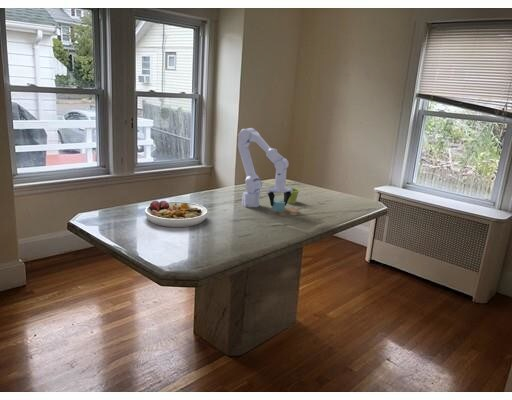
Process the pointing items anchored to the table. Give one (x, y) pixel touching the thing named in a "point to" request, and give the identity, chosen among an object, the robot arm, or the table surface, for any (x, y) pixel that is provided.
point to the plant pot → (293, 196)
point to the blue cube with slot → (278, 206)
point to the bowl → (175, 213)
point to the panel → (287, 211)
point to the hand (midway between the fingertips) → (278, 205)
